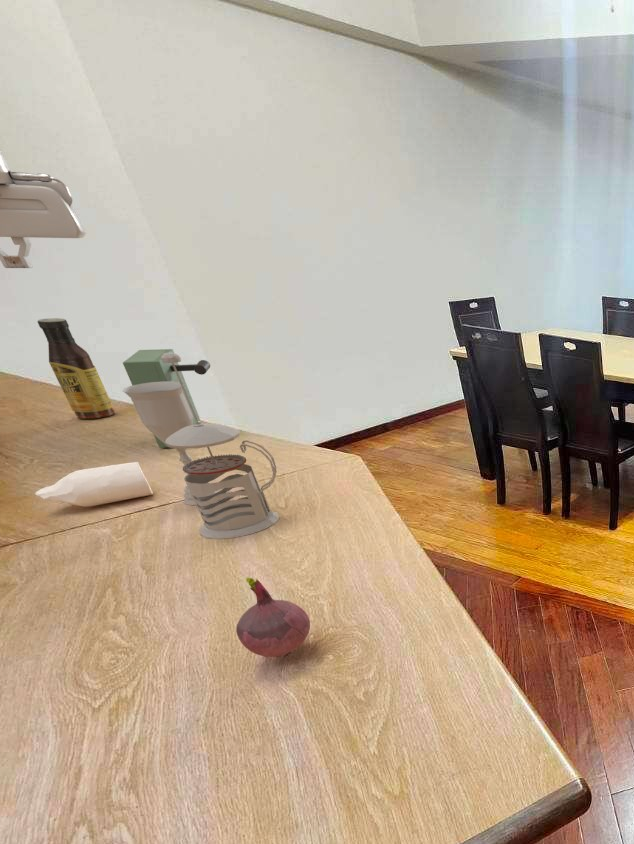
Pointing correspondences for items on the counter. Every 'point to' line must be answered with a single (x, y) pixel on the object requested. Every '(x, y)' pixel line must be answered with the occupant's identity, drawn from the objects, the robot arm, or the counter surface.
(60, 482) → the white bottle
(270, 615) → the vegetable
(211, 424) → the french press
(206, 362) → the green wedge with knob
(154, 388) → the chalice
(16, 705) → the counter surface
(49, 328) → the sauce bottle
